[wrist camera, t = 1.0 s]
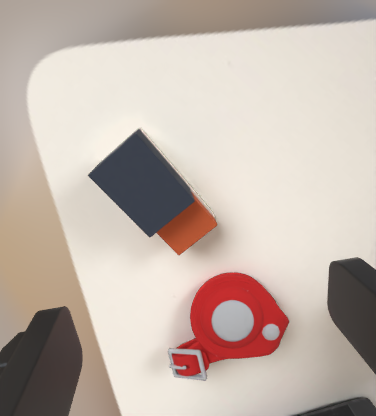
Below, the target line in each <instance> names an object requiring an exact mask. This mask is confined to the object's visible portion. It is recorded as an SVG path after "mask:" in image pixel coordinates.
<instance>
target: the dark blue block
mask: <svg viewBox="0 0 376 416" xmlns="http://www.w3.org/2000/svg"><path fill="white" fill-rule="evenodd" d="M88 176H89V177H90V178H91V179H92V180H93V181H94V182H95V183H96V184H97V185H98V186H99V187H100V188H101V189H102V190H103V191H104V192H105V193H106V194H107V195H108V196H109V197H110V198H111V199H112V200H113V201H114V202H115V203H116V204H117V205H118V206H119V207H120V208H121V209H122V210H123V211H124V212H125V213H126V214H127V215H128V216H129V217H130V218H131V219H132V220H133V221H134V222H135V223H136V224H137V225H138V226H139V227H140V228H141V229H142V230H143V231H144V232H145V233H146V234H147V235H148V236H149V237H151V236H153V235H154V234H155V233H157V234H158V235H159V236H160V237H161V238H162V239H163V240H164V241H165V242H166V243H167V244H168V245H169V246H170V247H171V248H172V249H173V250H174V251H175V252H176V253H177V254H178V255H180V254H181V253H183V252H184V251H185V250H186V249H188V248H189V247H190V246H192V245H193V244H194V243H195V242H197V241H198V240H199V239H200V238H202V237H203V236H204V235H206V234H207V233H208V232H209V231H211V230H212V229H213V228H214V227H216V226H217V223H216V221H215V219H214V218H215V215H214V213H213V212H212V210H211V209H210V208H209V207H208V206H207V204H206V203H205V202H204V201H203V200H202V199H201V197H200V196H199V195H198V194H197V193H196V192H195V190H194V189H193V188H192V187H191V186H190V185H189V183H188V182H187V181H186V180H185V179H184V178H183V176H182V175H181V174H180V173H179V172H178V171H177V169H176V168H175V167H174V166H173V165H172V164H171V162H170V161H169V160H168V159H167V158H166V157H165V155H164V154H163V153H162V152H161V151H160V150H159V148H158V147H157V146H156V145H155V144H154V143H153V141H152V140H151V139H150V138H149V137H148V136H147V134H146V133H145V132H144V131H143V130H142V129H141V128H140V127H139V128H138V129H137V130H136V131H135V132H134V133H132V134H131V135H130V136H129V137H128V138H127V139H126V140H124V141H123V142H122V143H121V144H120V145H119V146H118V147H117V148H115V149H114V150H113V151H112V152H111V153H110V154H109V155H107V156H106V157H105V158H104V159H103V160H102V161H101V162H100V163H99V164H98V165H97V166H96V167H95V168H94V169H93V170H92V172H91V173H90V174H89V175H88Z"/></svg>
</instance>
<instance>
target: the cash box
mask: <svg viewBox="0 0 376 416" xmlns="http://www.w3.org/2000/svg"><path fill="white" fill-rule="evenodd" d="M299 416H376V408H375V406H374V405H373V404H372V402H371V401H370V400H369V399H368V398H357V399H354V400H350V401H347V402H343V403H340V404H337V405H333V406H330V407H326V408H323V409H320V410H316V411H313V412H309V413H306V414H303V415H299Z"/></svg>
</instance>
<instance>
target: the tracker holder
mask: <svg viewBox="0 0 376 416" xmlns="http://www.w3.org/2000/svg"><path fill="white" fill-rule="evenodd" d="M190 321H191V326H192V330H193V333H194V335H195V337H196V338H195V339H193V340H191V341H188V342H186V343H184V344H182V345H180V346H179V347H177V348H176V349H174V348H169V349H168V354H169V358H170V362H171V364H170V365H169V367H170V368H172V371H173V375H174V377H178V378H187V379H195V380H203V381H205V380H206V379H207V375H206V370H207V369H208V368H209V364H210V363H213V362H216V361H219V360H224V359H229V358H230V359H239V358H251V357H260V356H266V355H269V354H271V353H273V352H274V351H275V350H276V349H277V348H278V346H279V344H280V341H281V339H282V336H283V334H284V332H285V330H286V327H287V325H288V323H289V320H288V318H287V316H286V315H285V314H284V313H283V312H282V310H281V309H280V308H279V306H278V305H277V303H276V302H275V300H274V299H273V297H272V296H271V295H270V294H269V293H268V291H267V290H266V289H265V288H264V287H263V286H262V285H261V284H260V283H258V282H257V281H256V280H255V279H253V278H252V277H250V276H248V275H245V274H241V273H224V274H220V275H217V276H215V277H213V278H211V279H210V280H208V281H207V282H206V283H205V284H204V285H203V286H202V287H201V288H200V289H199V290H198V292H197V293H196V296H195V298H194V300H193V303H192V306H191V313H190ZM198 373H201V374H202V375H200V374H198Z"/></svg>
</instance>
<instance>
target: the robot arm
mask: <svg viewBox="0 0 376 416" xmlns="http://www.w3.org/2000/svg"><path fill="white" fill-rule="evenodd" d="M327 303H328V310H329V313H330V316H331V318H332V320H333V322H334V323H335V325H336V326H337V327H338V328H339V330H340V331H341V332H342V333H343V335H344V336H345V337H346V338H347V339H348V341H349V342H350V343H351V344H352V346H353V347H354V348H355V349H356V351H357V352H358V353H359V354H360V355H361V357H362V358H363V359H364V360H365V362H366V363H367V364H368V365H369V367H370V368H371V369H372V370H373V372H374V373H375V374H376V270H375V269H374V268H373V267H371V266H370V265H369V264H368V263H366V262H365V261H364V260H362V259H361V258H357V257H356V258H350V259H344V260H338V261H333V262H331V264H330V266H329V281H328V301H327ZM81 368H82V348H81V344H80V341H79V338H78V335H77V332H76V329H75V326H74V323H73V320H72V317H71V314H70V311H69V309H68V308H67V307H65V306H64V307H59V308H53V309H47V310H42V311H38V312H37V313H36V314H35V315H34V317H33V319H32V321H31V322H30V324H29V326H28V328H27V330H26V331H25V332H20V333H18V334H17V335H16V336H15V337H14V338H13V339H12V340H11V341H10V342H9V343H8V344H7V345H6V346H5V347H4V348H2V350H1V352H0V416H68V415H69V411H70V408H71V404H72V401H73V397H74V394H75V390H76V386H77V383H78V379H79V376H80V372H81Z"/></svg>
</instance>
